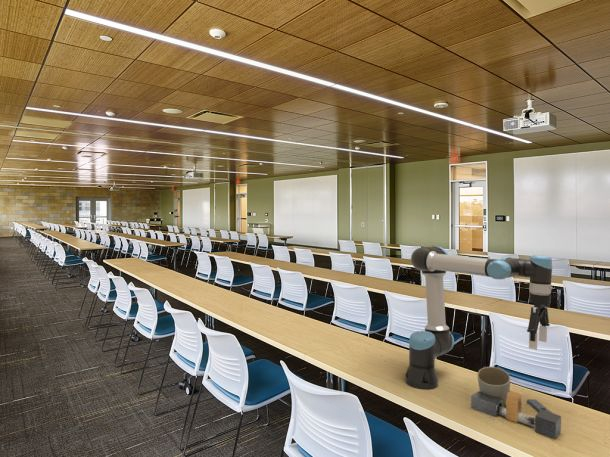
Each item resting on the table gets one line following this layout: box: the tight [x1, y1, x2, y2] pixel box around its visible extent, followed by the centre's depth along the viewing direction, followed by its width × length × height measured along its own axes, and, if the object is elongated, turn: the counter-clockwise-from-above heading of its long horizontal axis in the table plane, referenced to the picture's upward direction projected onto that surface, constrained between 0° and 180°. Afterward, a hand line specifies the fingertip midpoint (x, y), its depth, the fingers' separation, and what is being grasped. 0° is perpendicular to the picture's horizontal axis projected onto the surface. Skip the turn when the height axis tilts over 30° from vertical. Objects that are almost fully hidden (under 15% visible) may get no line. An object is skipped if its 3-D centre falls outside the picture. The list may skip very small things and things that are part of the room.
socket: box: [534, 410, 562, 440], centre depth 141 cm, size 6×7×6 cm
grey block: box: [470, 390, 504, 418], centre depth 157 cm, size 10×7×5 cm
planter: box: [477, 366, 511, 403], centre depth 163 cm, size 12×12×11 cm
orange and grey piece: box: [497, 390, 535, 428], centre depth 152 cm, size 19×4×10 cm, turn 43°
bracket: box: [526, 398, 552, 413], centre depth 159 cm, size 4×10×2 cm, turn 178°
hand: (537, 345), depth 157 cm, fingers open, 13 cm apart
